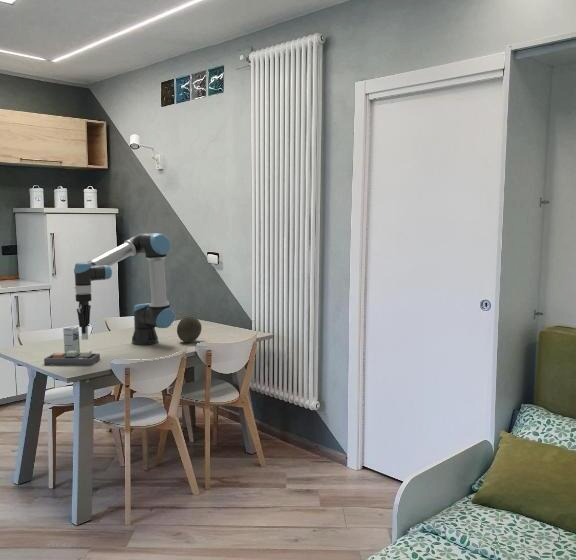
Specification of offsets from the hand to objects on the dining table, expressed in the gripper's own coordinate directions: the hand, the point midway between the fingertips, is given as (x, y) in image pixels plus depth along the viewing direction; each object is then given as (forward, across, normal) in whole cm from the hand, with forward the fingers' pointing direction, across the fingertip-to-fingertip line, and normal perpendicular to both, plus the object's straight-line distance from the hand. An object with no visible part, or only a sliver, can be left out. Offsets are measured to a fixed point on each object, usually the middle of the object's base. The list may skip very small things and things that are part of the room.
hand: (84, 339), depth 300 cm
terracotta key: (+10, 0, -14) cm, 17 cm away
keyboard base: (+12, 0, -7) cm, 14 cm away
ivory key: (+9, 0, 0) cm, 9 cm away
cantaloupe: (+12, -50, +43) cm, 67 cm away
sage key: (+9, 0, -7) cm, 11 cm away
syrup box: (+12, -19, -15) cm, 27 cm away
